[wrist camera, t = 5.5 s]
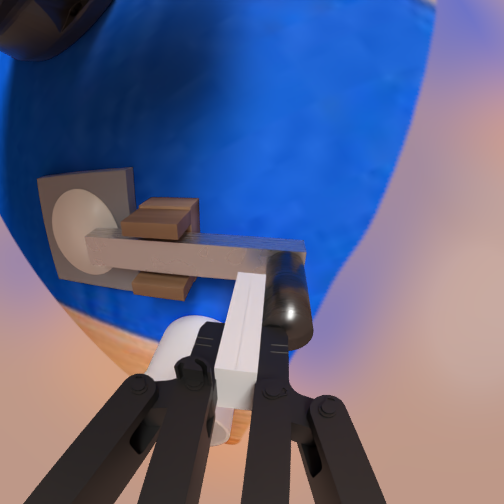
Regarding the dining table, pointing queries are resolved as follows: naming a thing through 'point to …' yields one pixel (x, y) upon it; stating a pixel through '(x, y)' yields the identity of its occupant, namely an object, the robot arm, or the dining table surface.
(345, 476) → the robot arm
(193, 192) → the dining table surface
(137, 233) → the mount
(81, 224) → the dock pad
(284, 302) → the crank handle
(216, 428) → the mug
